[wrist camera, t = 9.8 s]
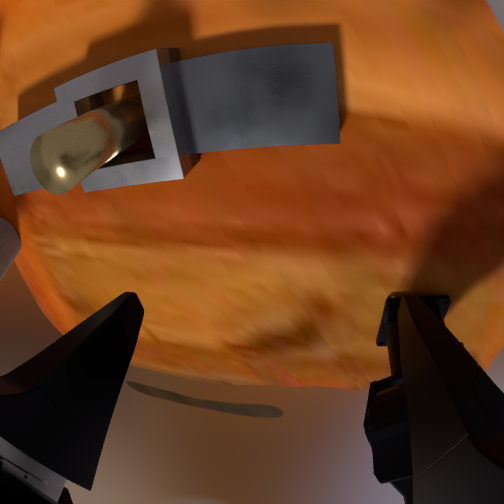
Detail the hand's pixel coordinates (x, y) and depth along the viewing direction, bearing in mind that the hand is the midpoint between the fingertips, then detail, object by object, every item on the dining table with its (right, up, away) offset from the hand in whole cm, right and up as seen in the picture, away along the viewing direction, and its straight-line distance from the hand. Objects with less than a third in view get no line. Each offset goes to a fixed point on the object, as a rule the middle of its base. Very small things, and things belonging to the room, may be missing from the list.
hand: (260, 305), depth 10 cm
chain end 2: (-4, +11, +8) cm, 14 cm away
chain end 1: (-13, +11, +10) cm, 20 cm away
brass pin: (-8, +11, +9) cm, 17 cm away
